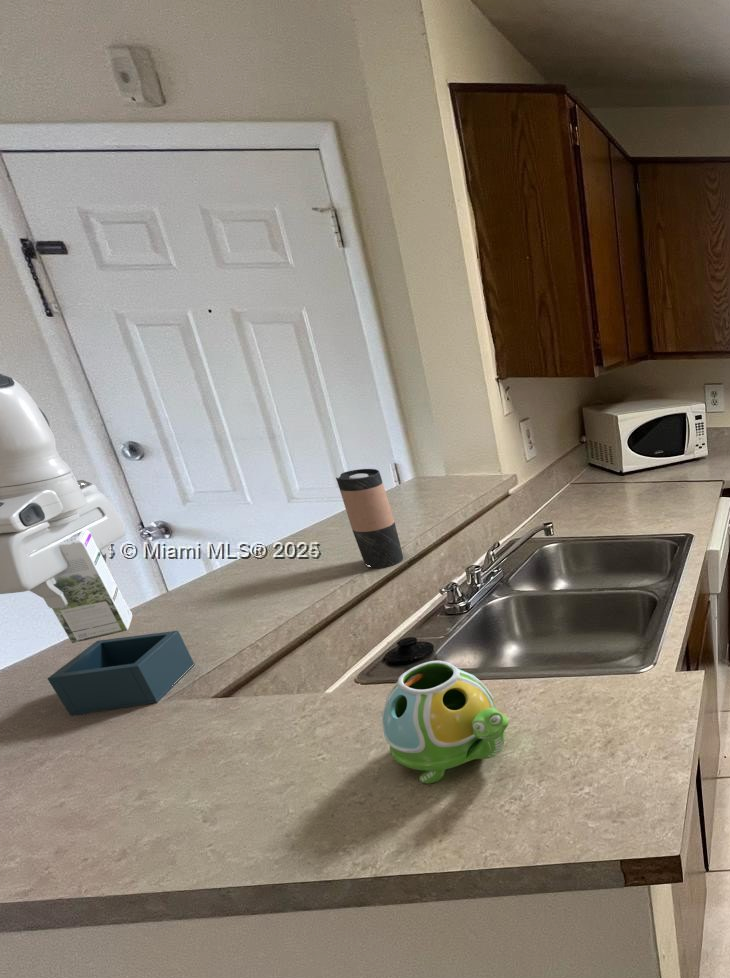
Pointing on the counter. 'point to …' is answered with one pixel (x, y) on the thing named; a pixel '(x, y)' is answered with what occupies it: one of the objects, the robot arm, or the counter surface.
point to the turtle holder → (441, 720)
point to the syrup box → (89, 592)
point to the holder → (122, 672)
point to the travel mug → (370, 517)
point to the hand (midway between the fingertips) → (83, 592)
